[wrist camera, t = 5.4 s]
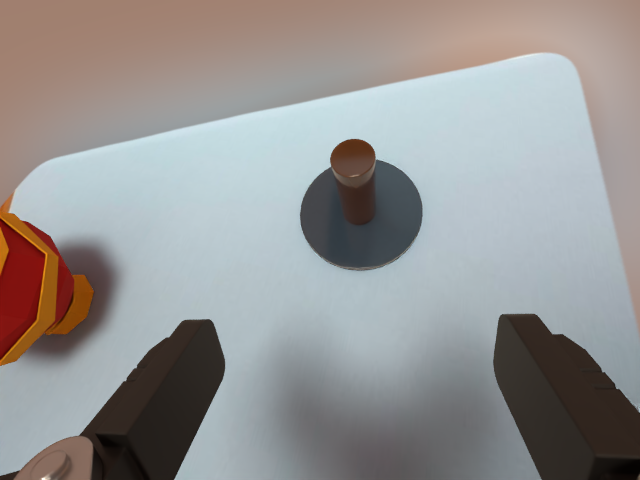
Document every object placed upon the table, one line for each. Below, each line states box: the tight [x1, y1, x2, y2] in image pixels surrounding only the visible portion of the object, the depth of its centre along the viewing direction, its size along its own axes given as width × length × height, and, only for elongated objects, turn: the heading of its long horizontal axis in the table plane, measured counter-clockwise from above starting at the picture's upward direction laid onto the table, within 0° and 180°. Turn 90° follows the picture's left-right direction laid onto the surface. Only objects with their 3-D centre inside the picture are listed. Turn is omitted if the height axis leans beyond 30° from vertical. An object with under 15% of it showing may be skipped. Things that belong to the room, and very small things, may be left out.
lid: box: [300, 139, 422, 270], centre depth 22 cm, size 9×9×8 cm
